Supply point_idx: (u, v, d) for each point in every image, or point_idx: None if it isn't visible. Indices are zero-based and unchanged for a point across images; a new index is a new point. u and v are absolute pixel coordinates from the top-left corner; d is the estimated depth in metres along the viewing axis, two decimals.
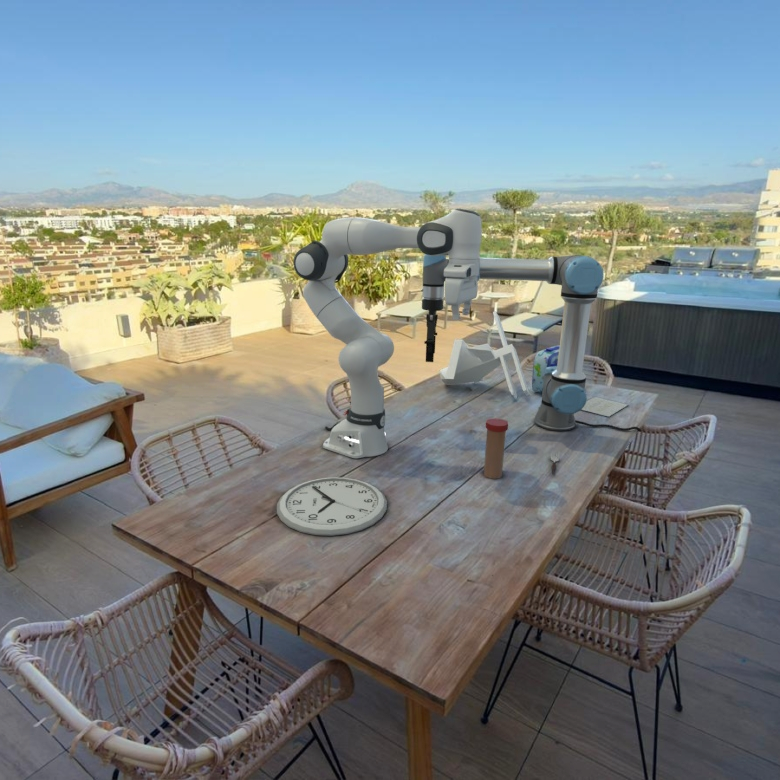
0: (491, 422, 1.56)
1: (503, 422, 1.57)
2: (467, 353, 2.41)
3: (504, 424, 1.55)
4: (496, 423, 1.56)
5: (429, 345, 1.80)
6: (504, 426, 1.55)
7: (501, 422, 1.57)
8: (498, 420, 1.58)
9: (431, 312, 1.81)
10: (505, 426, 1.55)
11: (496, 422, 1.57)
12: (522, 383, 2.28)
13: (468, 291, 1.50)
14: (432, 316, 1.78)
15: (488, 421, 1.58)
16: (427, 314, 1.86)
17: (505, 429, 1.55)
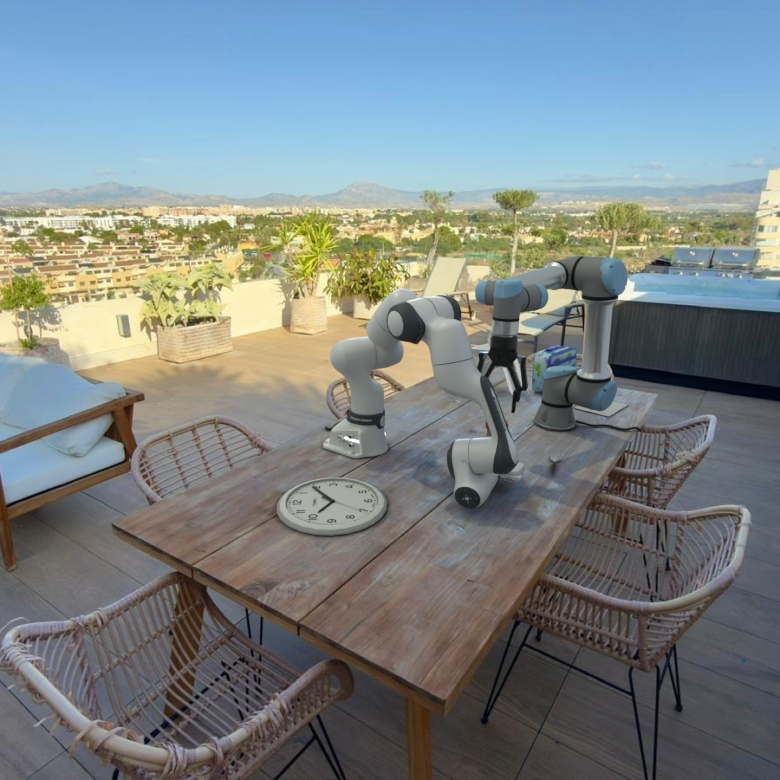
0: None
1: None
2: None
3: None
4: None
5: None
6: None
7: None
8: None
9: None
10: None
11: None
12: None
13: None
14: None
15: None
16: None
17: None
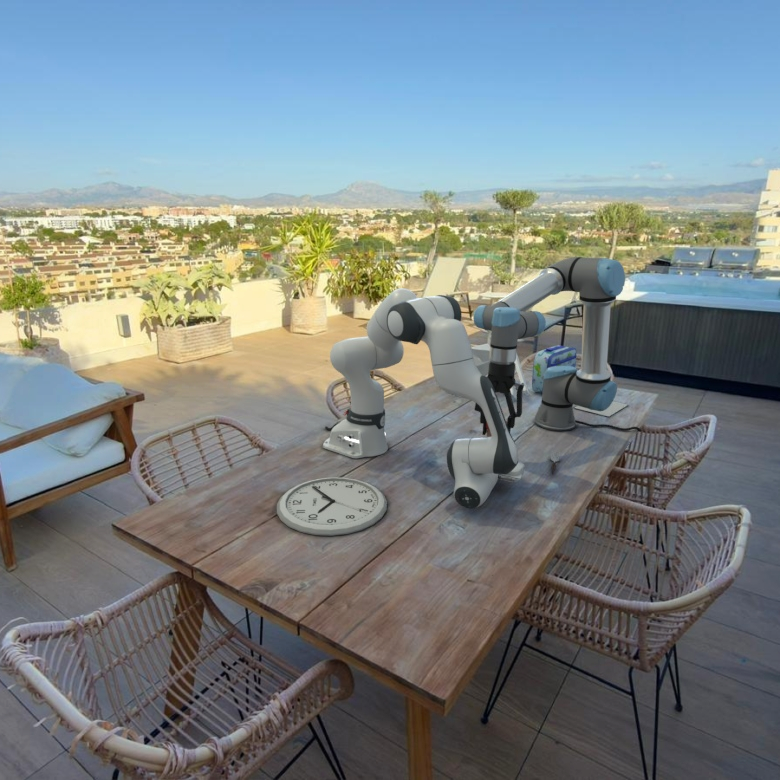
0: None
1: None
2: None
3: None
4: None
5: (481, 413, 1.59)
6: None
7: None
8: None
9: None
10: None
11: None
12: None
13: None
14: None
15: None
16: None
17: None
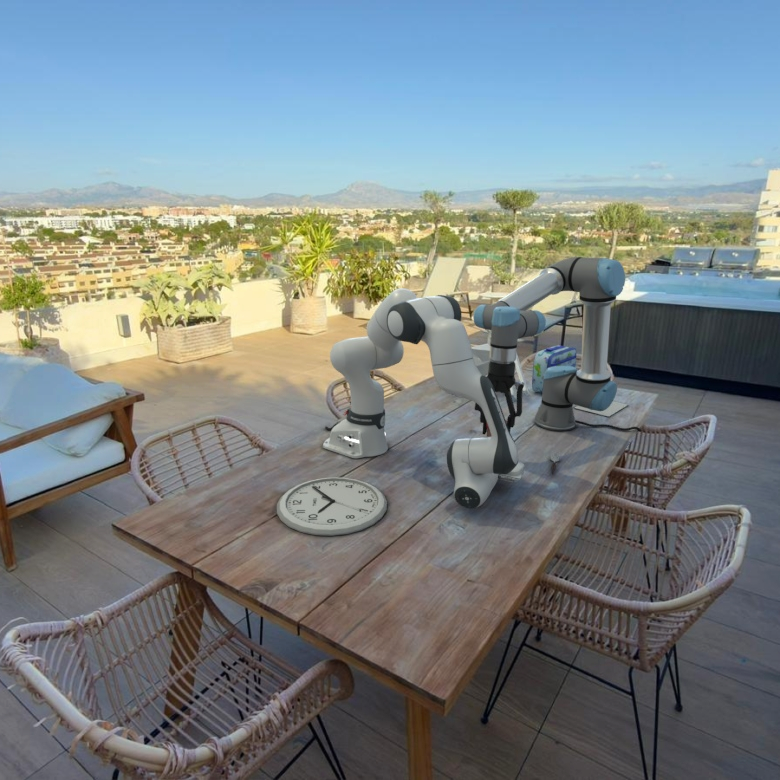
0: None
1: None
2: None
3: None
4: None
5: (481, 413, 1.58)
6: None
7: None
8: None
9: None
10: None
11: None
12: None
13: None
14: None
15: None
16: None
17: None
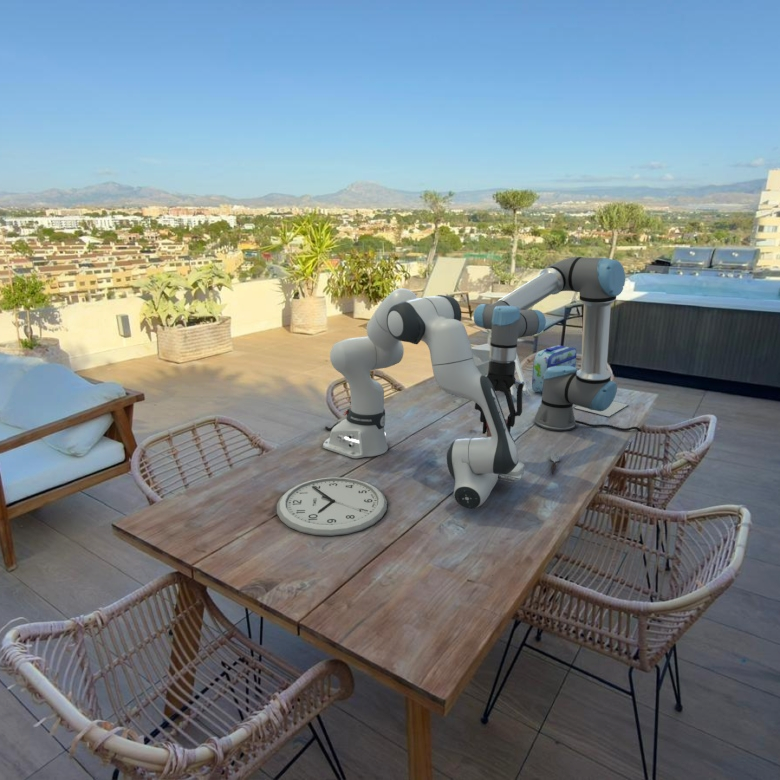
0: None
1: None
2: None
3: None
4: None
5: (481, 412, 1.58)
6: None
7: None
8: None
9: None
10: None
11: None
12: None
13: None
14: None
15: None
16: None
17: None
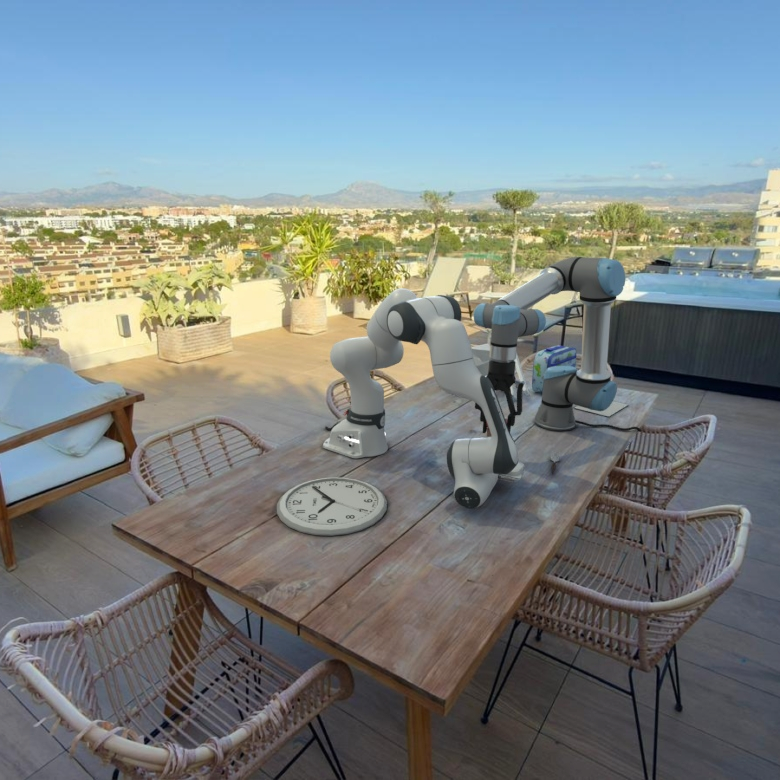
0: None
1: None
2: None
3: (506, 421, 1.56)
4: None
5: (481, 411, 1.58)
6: None
7: None
8: None
9: None
10: None
11: None
12: None
13: None
14: None
15: None
16: None
17: None
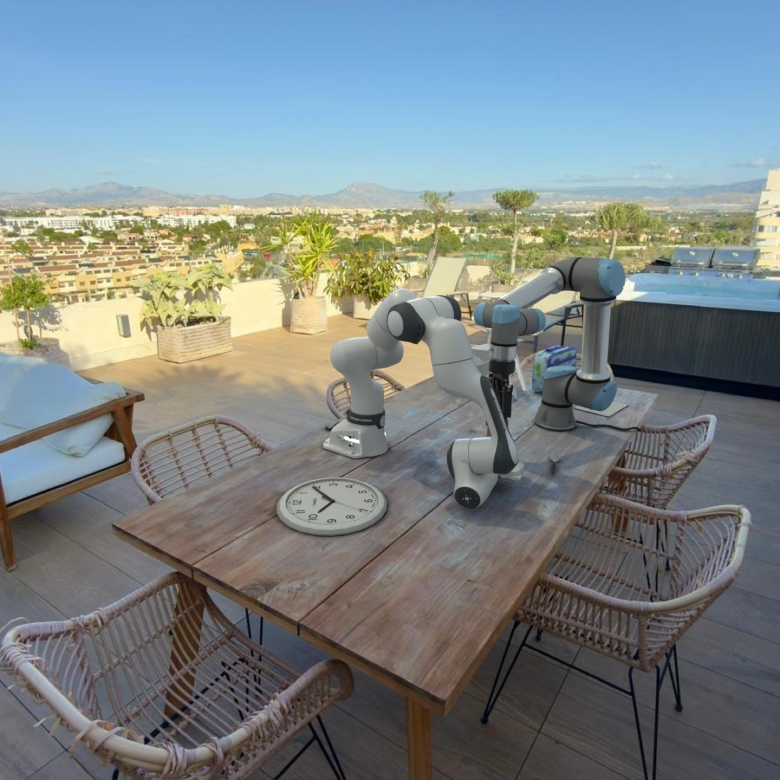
0: None
1: None
2: None
3: None
4: None
5: None
6: None
7: None
8: None
9: (505, 377, 1.49)
10: None
11: None
12: (522, 383, 2.28)
13: None
14: (510, 387, 1.47)
15: None
16: (493, 377, 1.54)
17: None
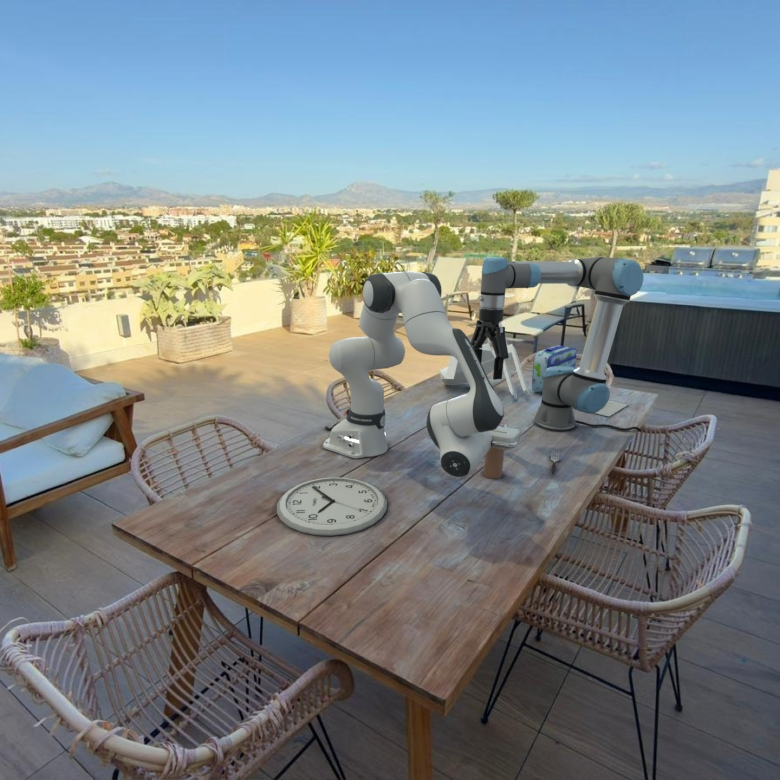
0: None
1: None
2: None
3: None
4: None
5: (501, 361, 1.61)
6: None
7: None
8: None
9: (496, 324, 1.62)
10: None
11: None
12: (522, 383, 2.28)
13: None
14: (502, 328, 1.59)
15: None
16: (483, 326, 1.66)
17: None
